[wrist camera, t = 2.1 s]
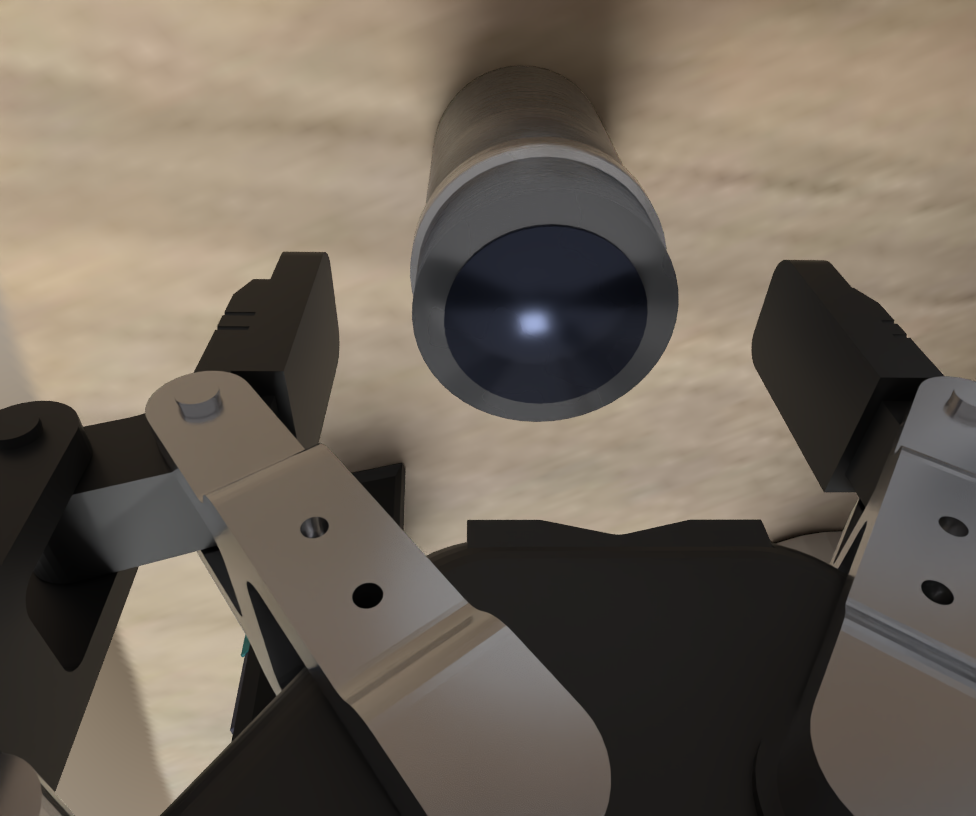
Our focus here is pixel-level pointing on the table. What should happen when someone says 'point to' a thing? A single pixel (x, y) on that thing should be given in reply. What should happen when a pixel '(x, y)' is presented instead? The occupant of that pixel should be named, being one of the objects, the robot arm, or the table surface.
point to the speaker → (253, 682)
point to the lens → (536, 254)
